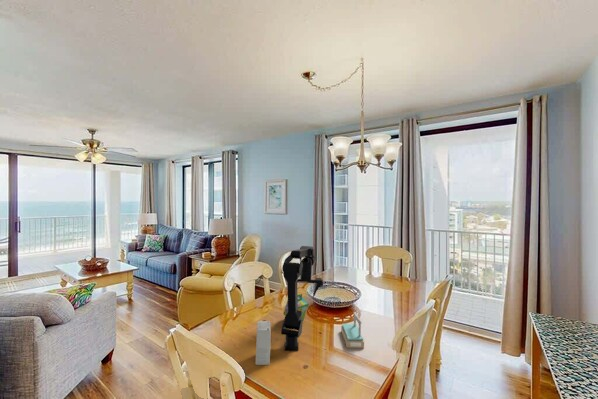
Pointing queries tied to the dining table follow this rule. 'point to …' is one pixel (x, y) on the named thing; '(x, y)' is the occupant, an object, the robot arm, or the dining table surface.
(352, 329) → the lid flap
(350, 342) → the carton
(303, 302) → the chalk box
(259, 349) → the skincare box
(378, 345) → the dining table surface
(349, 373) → the dining table surface
